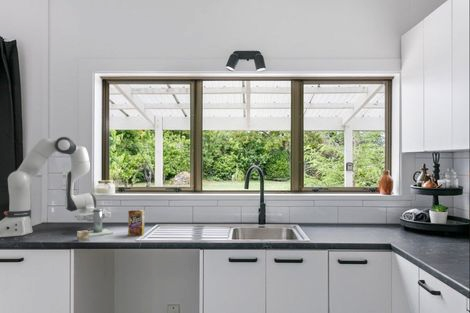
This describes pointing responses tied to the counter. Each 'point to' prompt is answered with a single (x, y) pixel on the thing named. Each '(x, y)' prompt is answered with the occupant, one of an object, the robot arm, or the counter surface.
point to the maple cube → (83, 235)
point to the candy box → (136, 222)
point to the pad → (104, 232)
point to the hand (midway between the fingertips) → (97, 217)
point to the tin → (97, 220)
